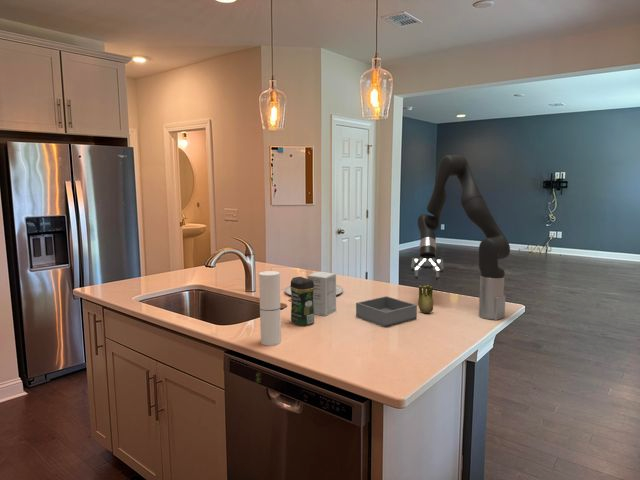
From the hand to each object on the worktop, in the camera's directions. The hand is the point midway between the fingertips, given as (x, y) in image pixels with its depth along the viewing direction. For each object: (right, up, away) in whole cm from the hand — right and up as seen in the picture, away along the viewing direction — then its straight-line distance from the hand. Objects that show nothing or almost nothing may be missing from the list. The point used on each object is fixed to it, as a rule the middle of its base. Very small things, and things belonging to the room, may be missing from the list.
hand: (426, 278), depth 198 cm
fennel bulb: (-2, -14, -6) cm, 16 cm away
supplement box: (-47, -14, -4) cm, 49 cm away
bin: (-20, -15, -13) cm, 28 cm away
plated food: (-51, -10, +30) cm, 60 cm away
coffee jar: (-55, -16, -18) cm, 60 cm away
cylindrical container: (-65, -19, -39) cm, 79 cm away
